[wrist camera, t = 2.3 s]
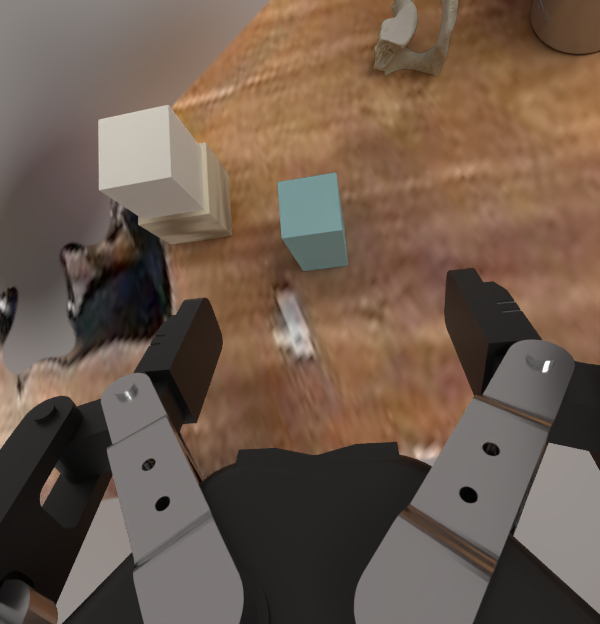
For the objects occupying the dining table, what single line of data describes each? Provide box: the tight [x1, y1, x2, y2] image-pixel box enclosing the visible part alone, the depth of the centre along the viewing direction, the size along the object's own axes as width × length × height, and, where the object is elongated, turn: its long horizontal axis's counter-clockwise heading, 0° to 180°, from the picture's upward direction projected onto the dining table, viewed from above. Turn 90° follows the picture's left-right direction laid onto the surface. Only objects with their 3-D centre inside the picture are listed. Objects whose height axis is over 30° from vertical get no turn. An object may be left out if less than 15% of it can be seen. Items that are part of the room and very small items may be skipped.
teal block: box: [277, 173, 348, 271], centre depth 33 cm, size 4×4×10 cm
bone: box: [373, 0, 458, 76], centre depth 35 cm, size 9×6×10 cm
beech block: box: [138, 142, 232, 245], centre depth 38 cm, size 7×7×6 cm
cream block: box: [99, 105, 205, 219], centre depth 32 cm, size 6×6×6 cm
